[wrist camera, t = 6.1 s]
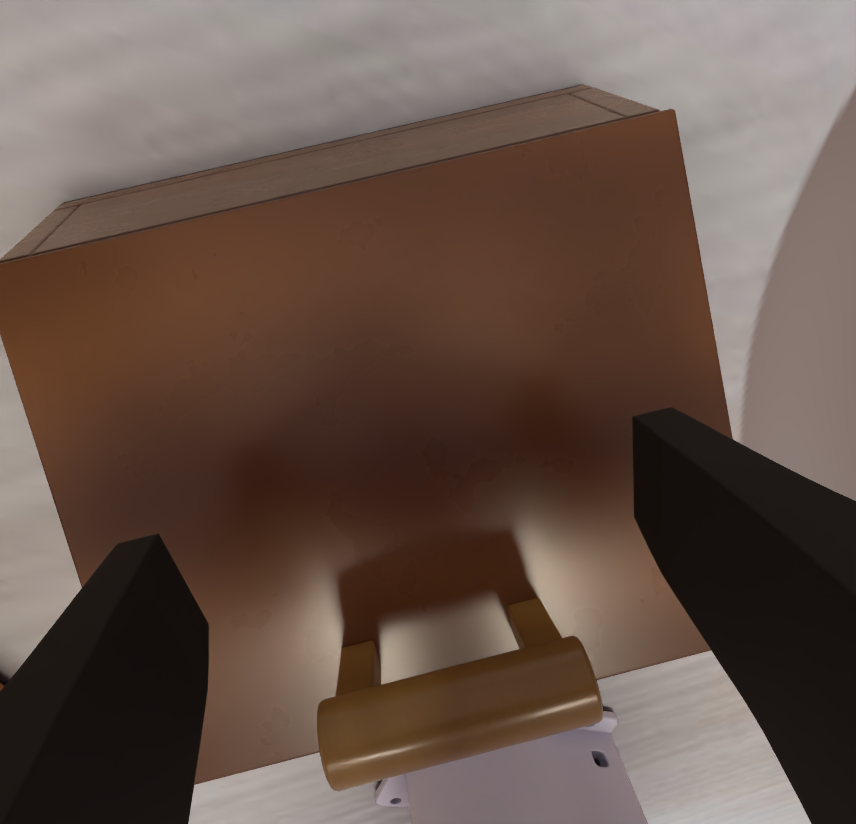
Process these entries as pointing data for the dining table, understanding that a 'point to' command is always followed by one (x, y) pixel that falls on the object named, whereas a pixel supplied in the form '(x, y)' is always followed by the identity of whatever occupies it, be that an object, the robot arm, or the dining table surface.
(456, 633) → the box lid
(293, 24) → the dining table surface
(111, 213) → the trinket box
